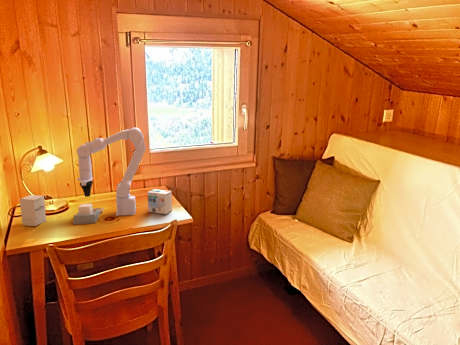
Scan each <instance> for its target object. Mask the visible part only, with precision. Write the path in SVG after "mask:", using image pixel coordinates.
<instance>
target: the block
mask: <svg viewBox="0 0 460 345" xmlns="http://www.w3.org/2000/svg"><path fill="white" fill-rule="evenodd" d="M92 208H93V203H81V204H80V205H79V206H78V212H79V215H85V214H93V210H92Z"/></svg>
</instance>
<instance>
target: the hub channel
mask: <svg viewBox="0 0 460 345" xmlns="http://www.w3.org/2000/svg"><path fill="white" fill-rule="evenodd" d="M100 214H101V213H100V212H99V209H97V210H96V212H93V214H85V215H79V211H78V212H77V214H73V222H72V224H73V225H83V224H87V225H88V224H96V223H97V221H98V220H99V217H100Z"/></svg>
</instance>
